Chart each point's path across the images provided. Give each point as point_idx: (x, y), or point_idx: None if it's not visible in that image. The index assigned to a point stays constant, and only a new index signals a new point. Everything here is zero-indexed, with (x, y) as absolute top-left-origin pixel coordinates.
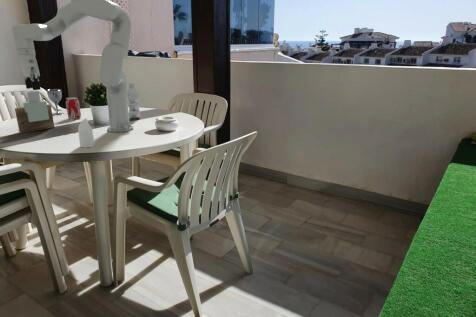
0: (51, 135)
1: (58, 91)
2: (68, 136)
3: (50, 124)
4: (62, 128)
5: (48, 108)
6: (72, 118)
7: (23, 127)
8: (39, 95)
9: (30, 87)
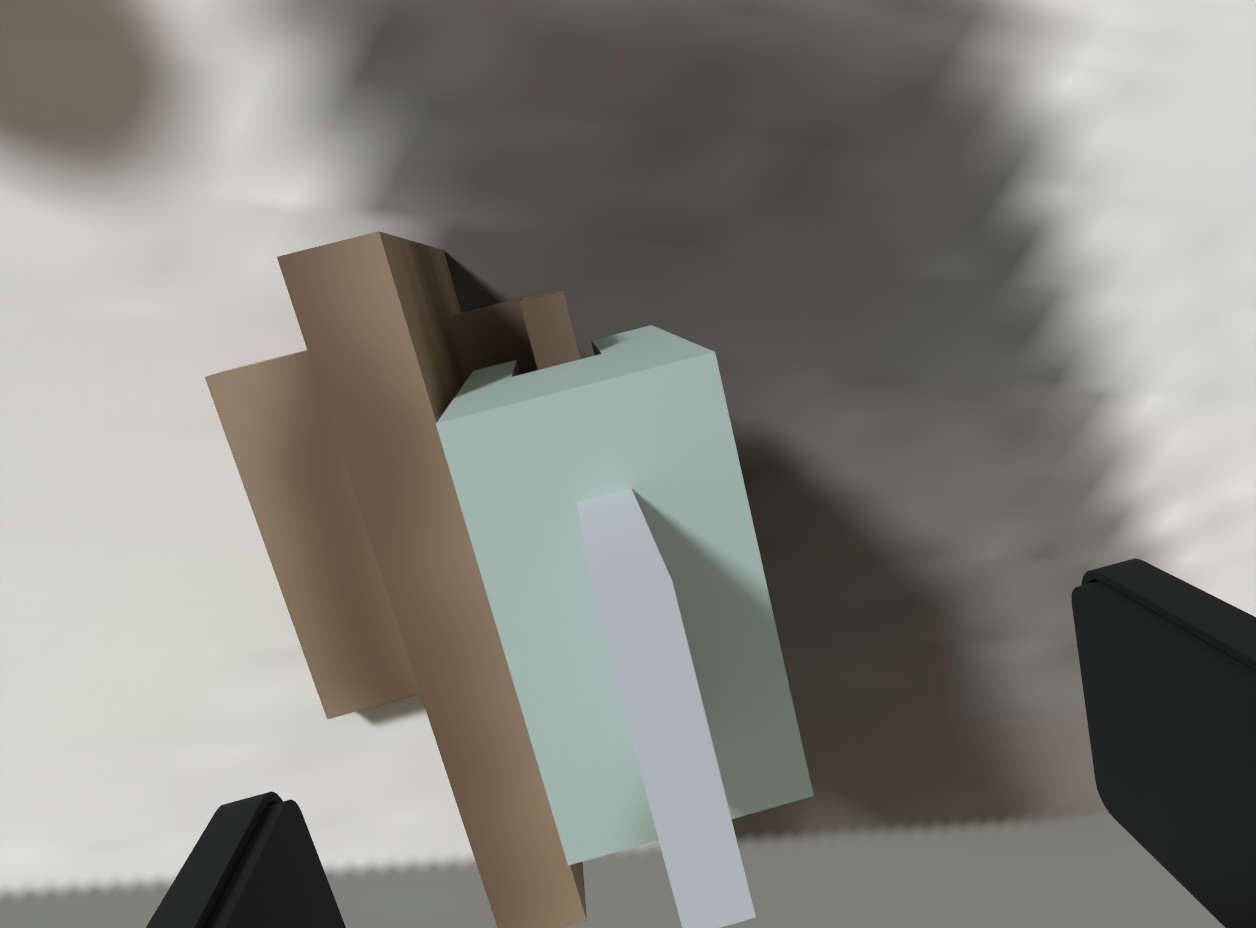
0: (959, 340)
1: None
2: (1153, 142)
3: (451, 304)
4: (578, 145)
5: (411, 300)
6: None
7: None
8: (651, 535)
9: (330, 915)
